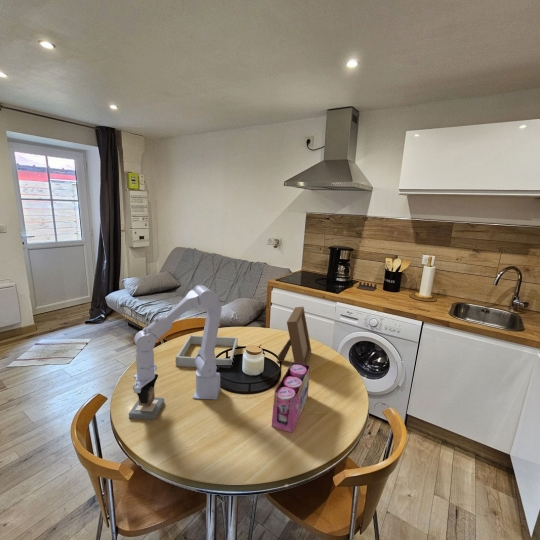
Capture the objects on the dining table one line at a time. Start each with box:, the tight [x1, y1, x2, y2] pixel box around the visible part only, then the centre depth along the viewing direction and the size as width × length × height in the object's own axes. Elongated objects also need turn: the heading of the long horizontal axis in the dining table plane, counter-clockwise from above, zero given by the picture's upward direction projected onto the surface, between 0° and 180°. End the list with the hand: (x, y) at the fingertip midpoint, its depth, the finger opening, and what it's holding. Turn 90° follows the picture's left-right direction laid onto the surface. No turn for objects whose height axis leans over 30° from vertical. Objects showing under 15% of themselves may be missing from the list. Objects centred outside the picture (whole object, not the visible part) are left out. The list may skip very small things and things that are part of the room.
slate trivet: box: [128, 397, 165, 420], centre depth 106 cm, size 9×9×2 cm
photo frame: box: [276, 306, 312, 365], centre depth 145 cm, size 15×22×25 cm
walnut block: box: [138, 386, 156, 406], centre depth 105 cm, size 4×4×5 cm
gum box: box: [271, 361, 311, 434], centre depth 108 cm, size 24×8×14 cm, turn 159°
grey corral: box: [175, 334, 238, 368], centre depth 147 cm, size 26×24×4 cm
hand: (146, 398), depth 105 cm, fingers closed on walnut block, 4 cm apart
